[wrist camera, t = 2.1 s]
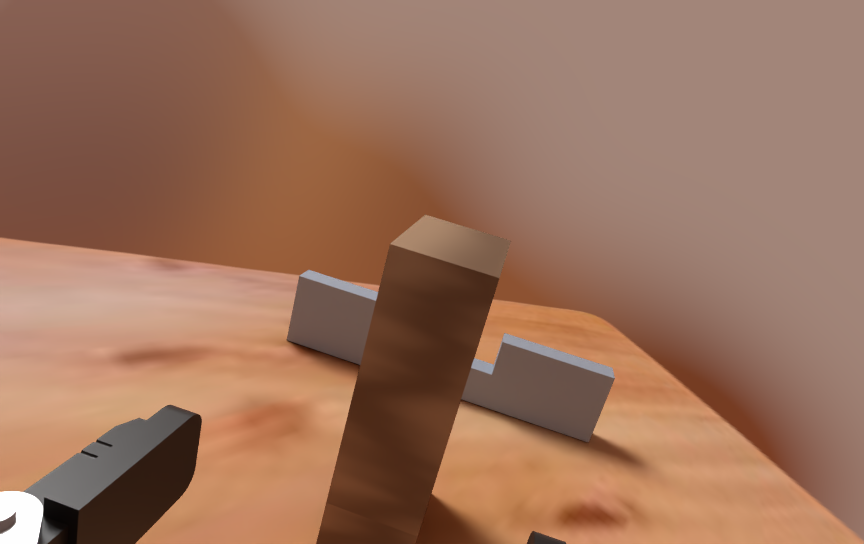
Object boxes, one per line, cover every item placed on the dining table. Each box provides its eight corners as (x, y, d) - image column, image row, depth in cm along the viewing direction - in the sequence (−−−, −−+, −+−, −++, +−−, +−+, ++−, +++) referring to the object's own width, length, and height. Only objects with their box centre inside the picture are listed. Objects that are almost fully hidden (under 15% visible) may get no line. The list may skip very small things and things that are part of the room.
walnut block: (314, 549, 24) (390, 243, 20) (359, 466, 30) (425, 214, 26) (403, 582, 24) (499, 277, 20) (431, 492, 30) (510, 240, 25)
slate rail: (286, 340, 41) (299, 275, 39) (296, 331, 42) (308, 269, 41) (588, 442, 38) (614, 378, 37) (587, 429, 40) (612, 367, 38)
